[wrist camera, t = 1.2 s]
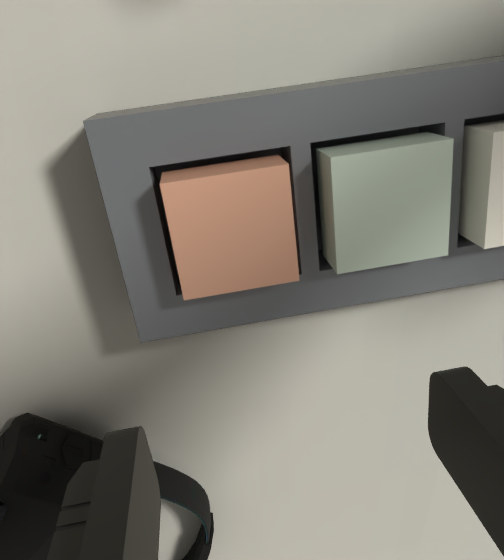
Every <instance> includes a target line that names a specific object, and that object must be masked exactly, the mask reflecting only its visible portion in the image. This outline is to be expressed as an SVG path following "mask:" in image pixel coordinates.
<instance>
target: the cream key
mask: <svg viewBox="0 0 504 560" xmlns="http://www.w3.org/2000/svg"><path fill="white" fill-rule="evenodd" d="M458 234H460V235H462V236H463V237H465V238H467V239H468V240H470V241H472V242H473V243H475V244H477V245H478V246H480V247H482V248H483V249H488V248H494V247H500V246H504V120H499V121H493V122H486V123H480V124H473V125H466V126H464V135H463V152H462V170H461V188H460V206H459V224H458Z"/></svg>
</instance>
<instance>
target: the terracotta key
mask: <svg viewBox="0 0 504 560" xmlns="http://www.w3.org/2000/svg"><path fill="white" fill-rule="evenodd" d="M160 188H161V193H162V198H163V202H164V207H165V212H166V217H167V222H168V226H169V231H170V236H171V241H172V246H173V251H174V255H175V260H176V265H177V270H178V275H179V279H180V284H181V289H182V294H183V299H184V300H190V299H196V298H201V297H207V296H213V295H219V294H225V293H231V292H236V291H242V290H248V289H254V288H260V287H266V286H272V285H277V284H283V283H289V282H295V281H300V280H299V269H298V259H297V248H296V237H295V226H294V216H293V205H292V194H291V183H290V173H289V164H288V163H287V162H286V161H285V160H284V159H283V158H281V157H280V156H279V155H278V154H276V155H270V156H263V157H257V158H250V159H244V160H237V161H231V162H224V163H217V164H211V165H204V166H198V167H191V168H185V169H178V170H172V171H165V172H162V175H161V180H160Z"/></svg>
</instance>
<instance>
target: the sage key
mask: <svg viewBox="0 0 504 560" xmlns="http://www.w3.org/2000/svg"><path fill="white" fill-rule="evenodd" d="M453 142H454V139H453V138H449V137H445V136H442V135H438V134H434V133H430V132H421V133H414V134H407V135H401V136H394V137H388V138H381V139H375V140H368V141H362V142H355V143H349V144H342V145H335V146H329V147H322V148H316V160H317V175H318V189H319V204H320V218H321V233H322V247H323V256H324V257H325V258H326V260H327V261H328V262H329V264H330V265H331V267H332V268H333V269H334V271H335V272H336V273H337V274H342V273H348V272H353V271H359V270H365V269H371V268H377V267H383V266H388V265H394V264H400V263H406V262H412V261H418V260H424V259H429V258H435V257H441V256H447V255H448V247H449V226H450V205H451V184H452V163H453Z"/></svg>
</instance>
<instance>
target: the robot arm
mask: <svg viewBox="0 0 504 560" xmlns="http://www.w3.org/2000/svg"><path fill="white" fill-rule="evenodd" d="M428 431H429V436H430V440H431V443H432V446H433V448H434V450H435V452H436V454H437V456H438V457H439V459H440V460H441V462H442V463H443V465H444V466H445V468H446V469H447V471H448V472H449V474H450V475H451V477H452V478H453V480H454V482H455V483H456V485H457V486H458V488H459V489H460V491H461V492H462V494H463V495H464V497H465V498H466V500H467V501H468V503H469V504H470V506H471V507H472V509H473V510H474V512H475V513H476V515H477V516H478V518H479V520H480V521H481V523H482V524H483V526H484V527H485V529H486V530H487V532H488V533H489V535H490V536H491V538H492V539H493V541H494V542H495V544H496V545H497V547H498V548H499V550H500V551H501V553H502V554H503V556H504V389H503V388H501V387H500V386H498V385H492V386H487V385H486V384H485V383H484V382H483V381H482V380H481V379H480V378H479V377H478V376H477V375H476V374H475V373H474V372H473V371H472V370H471V369H470V368H468V367H460V368H454V369H449V370H444V371H438V372H434V373H432V374H431V376H430V383H429V411H428ZM61 508H62V511H61V512H60V513H59V517H58V521H57V524H56V532H54V535H53V539H52V542H51V546H50V549H49V553H48V557H47V560H158V549H159V530H160V510H161V502H160V489H159V483H158V478H157V474H156V471H155V467H154V463H153V460H152V456H151V453H150V449H149V446H148V442H147V438H146V435H145V432H144V429H143V427H142V426H139V427H134V428H129V429H123V430H118V431H112V432H108V433H106V435H105V437H104V442H103V446H102V451H101V456H100V459H99V460H94V461H88V462H83V463H82V465H81V466H80V468H79V469H78V470H77V472H76V473H75V475H74V476H73V477H72V479H71V480H70V481H69V483H68V485H67V488H66V492H65V495H64V499H63V503H62V506H61Z"/></svg>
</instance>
